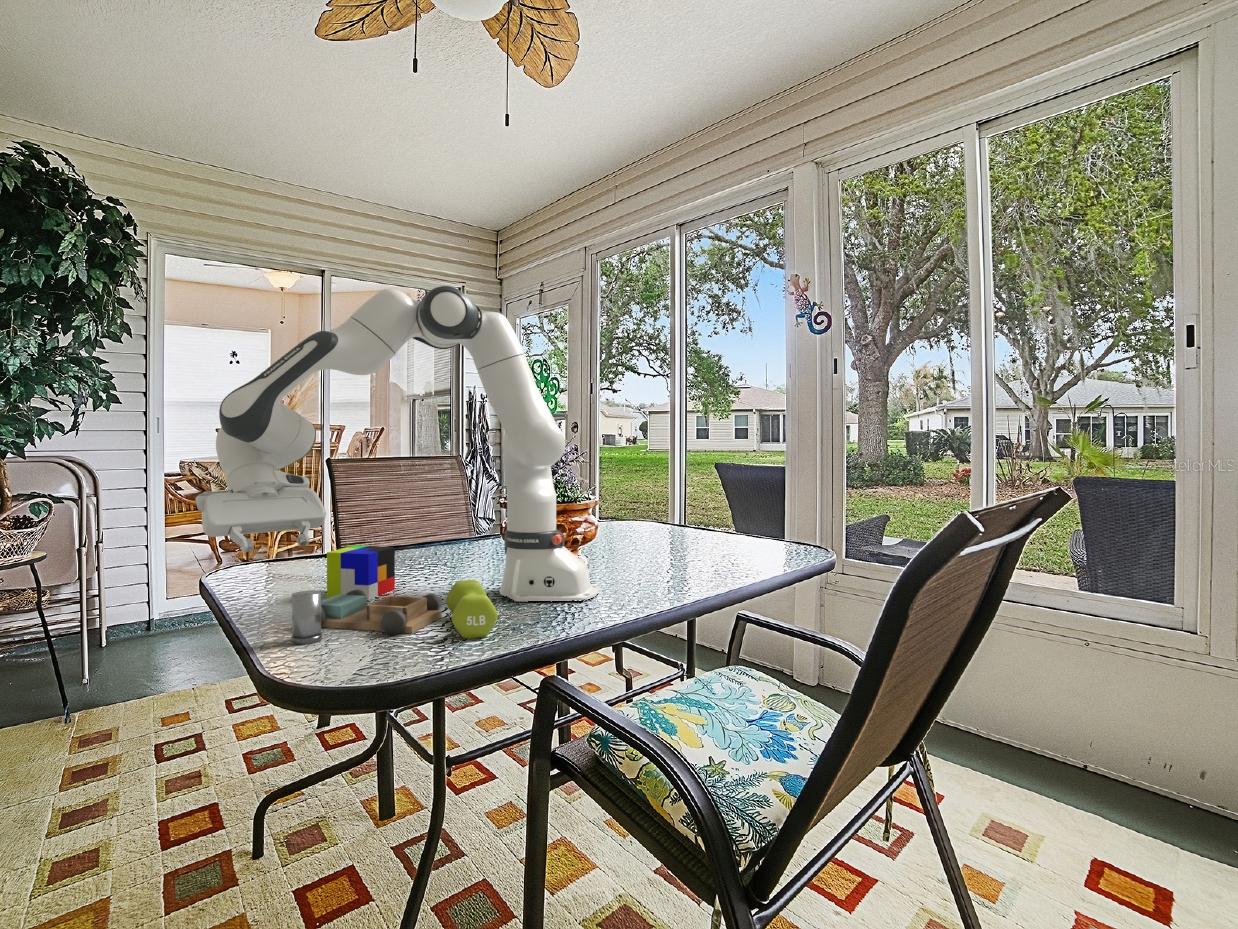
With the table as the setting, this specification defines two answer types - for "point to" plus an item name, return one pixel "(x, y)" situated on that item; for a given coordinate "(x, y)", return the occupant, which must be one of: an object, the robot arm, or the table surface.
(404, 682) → the table surface
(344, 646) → the table surface
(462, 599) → the dumbbell
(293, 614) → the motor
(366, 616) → the chassis
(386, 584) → the puzzle toy
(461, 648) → the table surface
